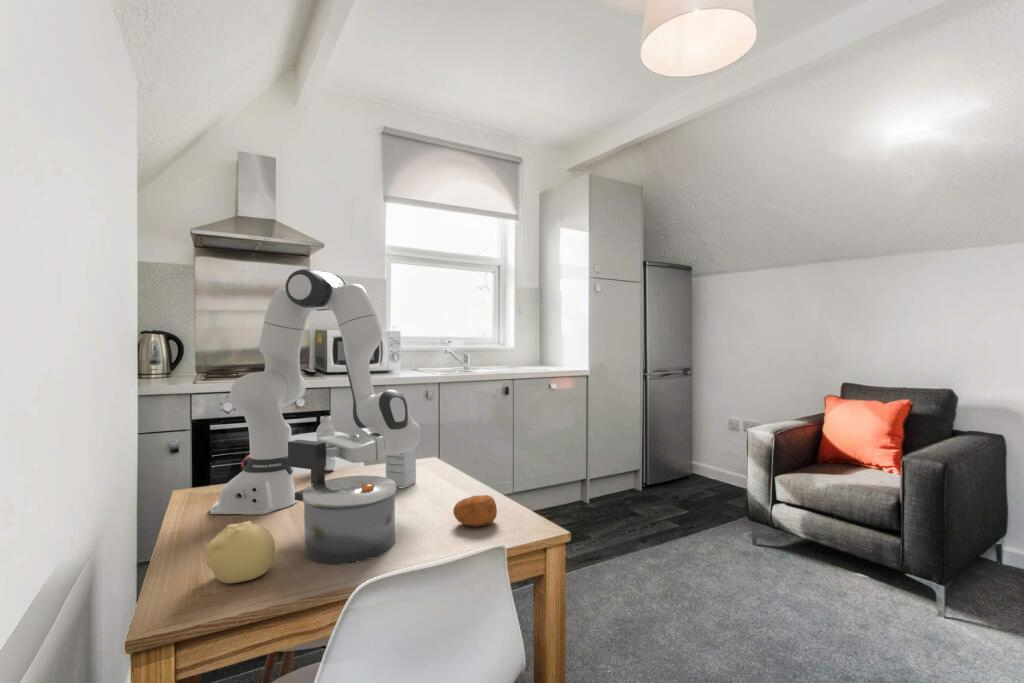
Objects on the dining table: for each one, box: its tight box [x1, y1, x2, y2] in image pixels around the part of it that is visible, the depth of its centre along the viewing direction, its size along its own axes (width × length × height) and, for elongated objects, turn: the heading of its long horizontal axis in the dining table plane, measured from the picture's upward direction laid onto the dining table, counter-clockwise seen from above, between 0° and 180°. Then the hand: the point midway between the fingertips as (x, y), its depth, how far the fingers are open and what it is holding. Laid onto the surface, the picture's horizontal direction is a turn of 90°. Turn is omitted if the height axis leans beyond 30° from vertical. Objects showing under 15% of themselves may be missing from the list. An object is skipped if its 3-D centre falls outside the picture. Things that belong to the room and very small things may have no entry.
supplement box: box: [385, 446, 417, 489], centre depth 164 cm, size 7×7×13 cm
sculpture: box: [204, 520, 276, 584], centre depth 101 cm, size 12×12×11 cm
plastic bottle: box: [315, 415, 337, 472], centre depth 182 cm, size 6×7×20 cm
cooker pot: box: [295, 488, 396, 565], centre depth 117 cm, size 27×20×12 cm
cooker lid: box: [288, 439, 397, 508], centre depth 117 cm, size 28×21×11 cm
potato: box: [453, 494, 498, 528], centre depth 128 cm, size 9×11×8 cm
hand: (315, 453), depth 123 cm, fingers closed
